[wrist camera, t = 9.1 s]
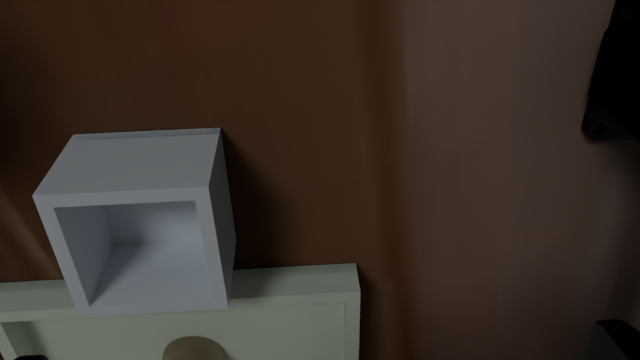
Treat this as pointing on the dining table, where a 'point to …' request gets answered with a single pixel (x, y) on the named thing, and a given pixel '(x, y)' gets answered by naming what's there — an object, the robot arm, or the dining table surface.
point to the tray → (196, 320)
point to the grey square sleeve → (141, 221)
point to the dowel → (193, 349)
